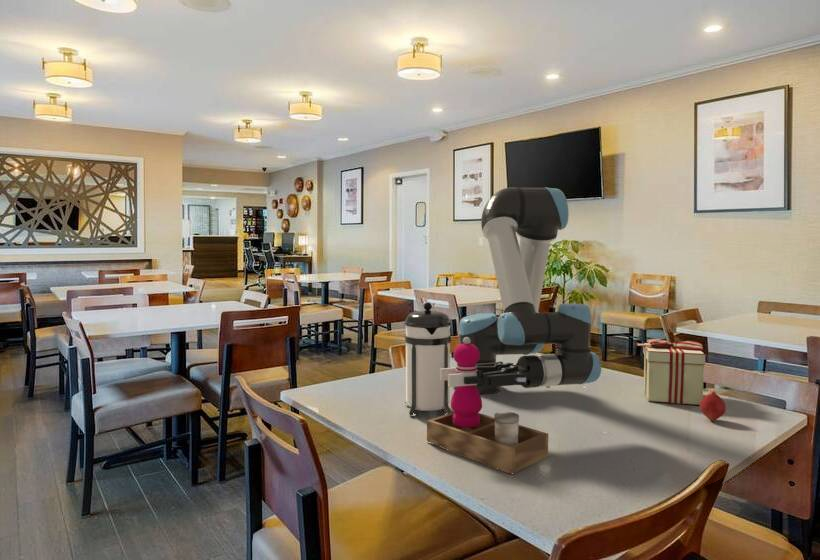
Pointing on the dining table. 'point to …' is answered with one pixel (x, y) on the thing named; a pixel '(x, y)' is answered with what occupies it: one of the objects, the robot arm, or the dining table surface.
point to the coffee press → (427, 360)
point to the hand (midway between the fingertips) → (444, 377)
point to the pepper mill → (466, 387)
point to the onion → (712, 406)
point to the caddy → (491, 440)
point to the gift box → (673, 371)
